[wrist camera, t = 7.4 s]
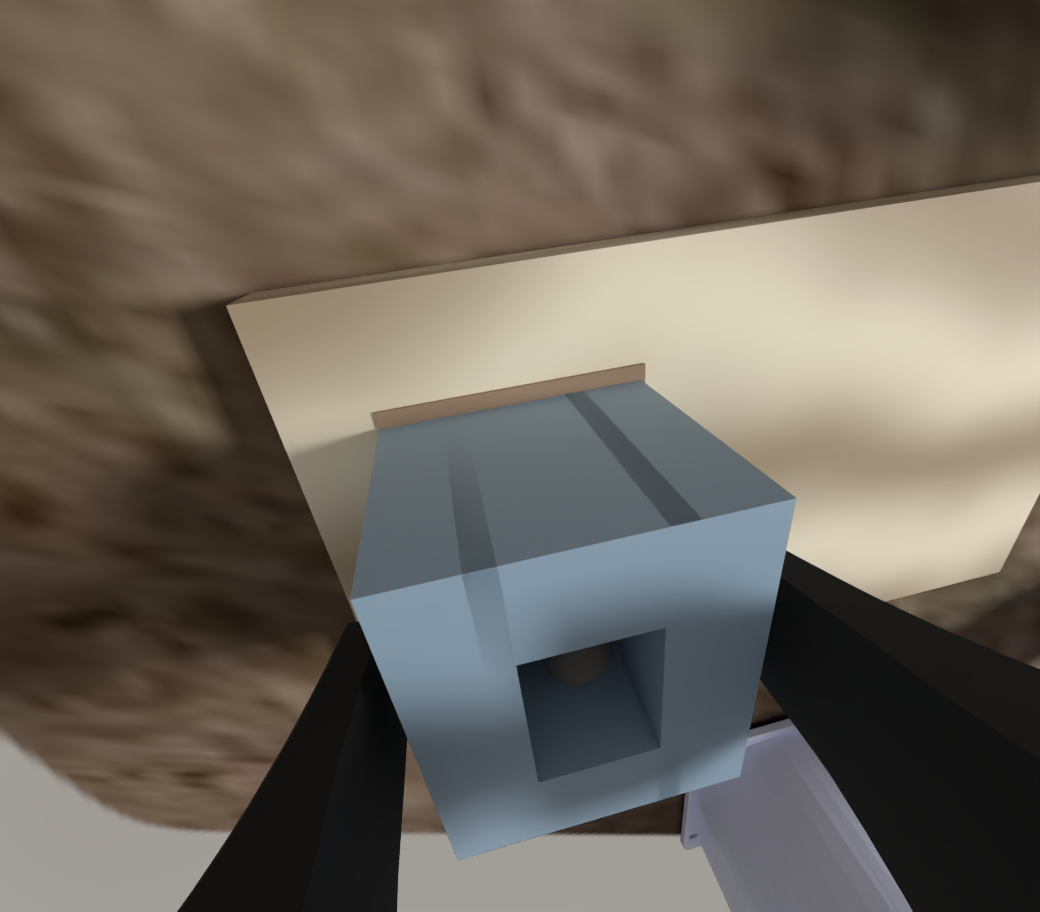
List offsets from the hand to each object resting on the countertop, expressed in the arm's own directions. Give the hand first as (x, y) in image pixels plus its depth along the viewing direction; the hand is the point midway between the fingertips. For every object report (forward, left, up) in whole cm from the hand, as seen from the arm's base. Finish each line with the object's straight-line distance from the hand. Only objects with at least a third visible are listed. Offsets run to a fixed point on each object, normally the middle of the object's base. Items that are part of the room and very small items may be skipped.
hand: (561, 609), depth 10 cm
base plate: (0, -6, -4) cm, 7 cm away
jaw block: (0, 0, -3) cm, 3 cm away
